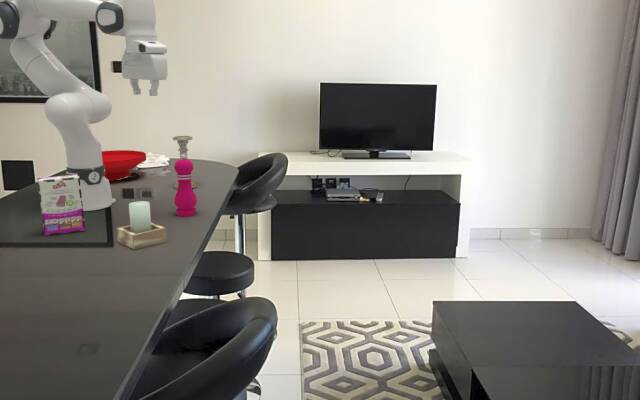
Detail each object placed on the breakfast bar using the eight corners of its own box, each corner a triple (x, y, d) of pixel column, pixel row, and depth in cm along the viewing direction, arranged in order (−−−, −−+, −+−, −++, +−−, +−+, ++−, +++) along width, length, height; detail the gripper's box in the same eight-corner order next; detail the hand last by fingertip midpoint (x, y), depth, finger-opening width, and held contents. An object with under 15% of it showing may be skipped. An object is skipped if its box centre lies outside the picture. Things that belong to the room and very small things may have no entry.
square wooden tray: (117, 241, 154) (116, 228, 153) (148, 234, 160) (147, 221, 159) (135, 249, 147) (134, 235, 146) (166, 241, 154) (165, 228, 153)
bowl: (162, 175, 244) (160, 152, 242) (111, 188, 217) (109, 163, 215) (110, 169, 256) (108, 148, 254) (55, 181, 229) (53, 157, 227)
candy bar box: (84, 226, 167) (79, 173, 163) (85, 231, 163) (80, 176, 159) (43, 231, 162) (36, 177, 158) (43, 236, 158) (37, 180, 154)
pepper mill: (192, 217, 178) (188, 156, 173) (171, 216, 179) (167, 155, 174) (201, 211, 185) (198, 152, 180) (181, 210, 186) (177, 152, 181)
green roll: (127, 238, 153) (124, 203, 151) (145, 234, 157) (143, 200, 155) (137, 242, 150) (135, 207, 147) (155, 238, 154) (153, 203, 151)
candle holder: (201, 186, 222) (198, 136, 217) (185, 191, 214) (182, 139, 209) (185, 184, 226) (182, 135, 221) (169, 188, 219) (166, 137, 214)
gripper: (114, 47, 165) (118, 94, 169) (150, 46, 152) (153, 97, 155) (133, 47, 170) (137, 93, 173) (170, 46, 156) (173, 96, 160)
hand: (145, 95), depth 164 cm, fingers open, 8 cm apart
